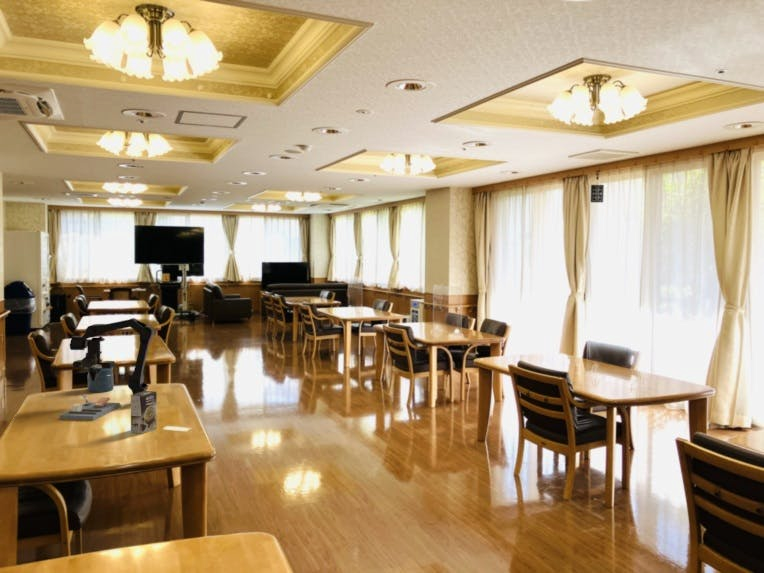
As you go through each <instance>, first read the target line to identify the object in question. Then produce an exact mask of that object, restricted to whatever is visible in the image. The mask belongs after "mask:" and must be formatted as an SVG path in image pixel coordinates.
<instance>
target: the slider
mask: <svg viewBox="0 0 764 573" xmlns="http://www.w3.org/2000/svg"><path fill="white" fill-rule="evenodd" d="M82 405H83V404H82V403H74V404H72V405H71V410H72V411H75V412H80V411H82Z"/></svg>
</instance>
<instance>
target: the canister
mask: <svg viewBox="0 0 764 573" xmlns="http://www.w3.org/2000/svg"><path fill="white" fill-rule="evenodd" d="M100 359H101V360H102V363H103V362H105V361H106V360H104V359H103V358H102V357H100ZM87 373H88V374H87V391H88V392H89V393H106V392H110V391H113V390H114V388H115V384H114V383H115V382H114V367H112V368H109V369H105V368H102V369H101V371H100V372H99V374H98V376H97V379H96V381H95V382H93V381H92V379H91V376H90V374H89V372H88V371H87Z"/></svg>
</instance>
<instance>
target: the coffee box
mask: <svg viewBox="0 0 764 573" xmlns="http://www.w3.org/2000/svg"><path fill="white" fill-rule="evenodd" d="M157 393H158V392H157V391H154V390H153V391H152V390H146V391H143V392H139V393H136V394H133V393H132V394H131V395H130V433H135V434H141V435H143V434H145V433H148V432H150V431H153V430H155V429H157V426H158V425H157V424H158V420H157V419H158V414H157V408H158V407H157V406H158V405H157V404H158V403H157V402H158V401H157Z"/></svg>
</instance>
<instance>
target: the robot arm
mask: <svg viewBox="0 0 764 573" xmlns="http://www.w3.org/2000/svg"><path fill="white" fill-rule="evenodd" d="M127 328H131V329H132V330H134V331H135V332H136V333H137V334H139V347H138V352H137V357H136V361H135V365H134V369H133V372H132V371H131V373H129V374H128V376H127V377H128V380H127V381H126V384H127V386H128V388H129V389H130V390H131V392H132V395H133V394H136V393H139V392H143V391H148V388H149V385H148V384H147V383H146V382H145V376H144V374H145V373H144V370H145V366H146V365H145V364H146V360H147V356H148V353H149V352H148V351H149V347H150V344H151V342H152V340H153V338H154V336H155V334H156V328H155V327H154V326H153V325H150V324H149V325H148V324H146V323H144V322H143V321H140V320H138V319H136V318H134V317H132V318H129V319H124V320H120V321H115V322H110V323H95V324H91V325H88V326H87V327H86V329H85V332H84V334H83V335H82V336H81V335H80V336H77V335H73V336H71V339H70V342H69V349H70V350H71V351H85V350H86V349H87V350H86V352H85V357H83V358H82V359H78V360H77V359H76V360H74V361H73V362H72V364H71V365H72V368H80V367H81V368H82V369H84V370H86V371H87V373H88V372H89V374H90V376H91V379H92V381H93V382H95V381H96V379H97V376H98V374H99V372H100V371H101V369H102V368H105V369H109V368H112V367H113V368H114V367H116V363H115V360H104V361H105V362H103V363H102V360H101V359H100V358H101V354H102V351H101V342H104V341H106V339H105V338H104V337H103V336H102V334H105V333H107V332H113V331H117V330H118V331H119V330H122V329H127ZM97 336H99V337H97ZM90 338H91V339H90Z"/></svg>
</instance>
